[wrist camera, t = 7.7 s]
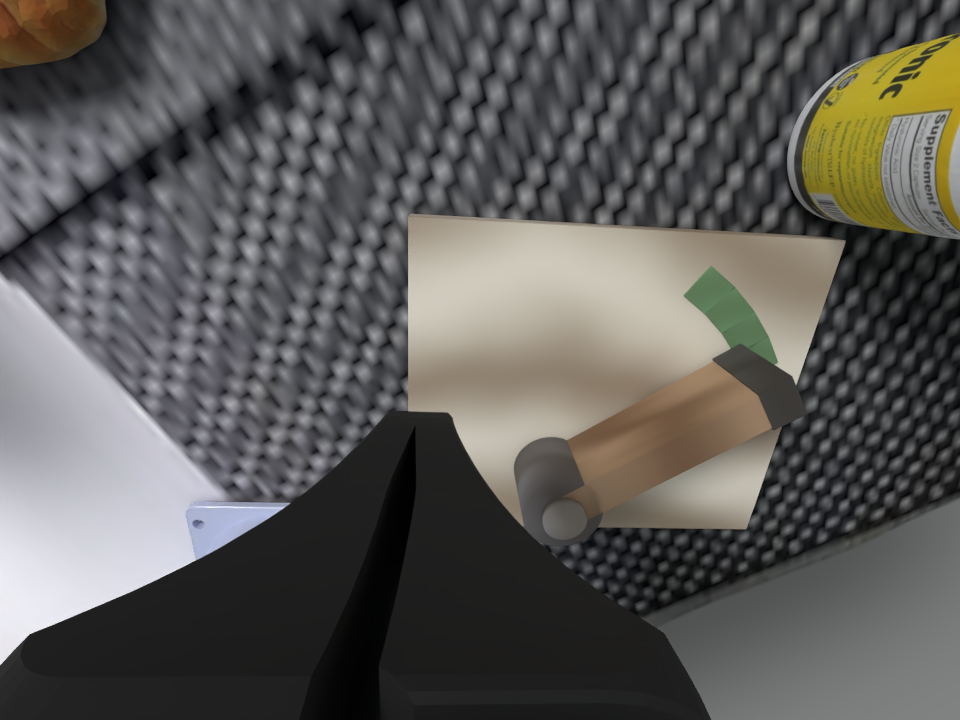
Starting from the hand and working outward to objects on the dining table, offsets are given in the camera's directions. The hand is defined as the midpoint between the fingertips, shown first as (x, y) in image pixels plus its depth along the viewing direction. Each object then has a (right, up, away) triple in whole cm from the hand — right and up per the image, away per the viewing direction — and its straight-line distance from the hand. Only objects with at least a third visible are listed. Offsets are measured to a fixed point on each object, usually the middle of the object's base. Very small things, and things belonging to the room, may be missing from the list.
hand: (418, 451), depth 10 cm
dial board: (+6, +1, +10) cm, 12 cm away
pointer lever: (+8, -1, +9) cm, 12 cm away
